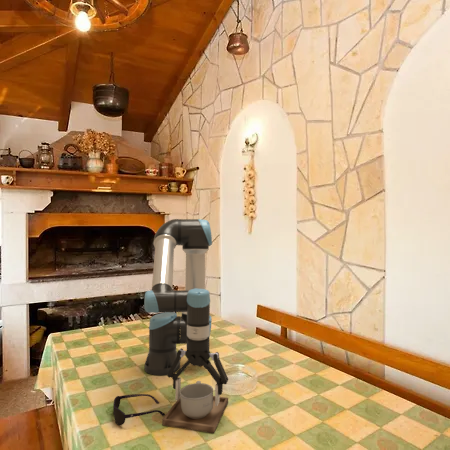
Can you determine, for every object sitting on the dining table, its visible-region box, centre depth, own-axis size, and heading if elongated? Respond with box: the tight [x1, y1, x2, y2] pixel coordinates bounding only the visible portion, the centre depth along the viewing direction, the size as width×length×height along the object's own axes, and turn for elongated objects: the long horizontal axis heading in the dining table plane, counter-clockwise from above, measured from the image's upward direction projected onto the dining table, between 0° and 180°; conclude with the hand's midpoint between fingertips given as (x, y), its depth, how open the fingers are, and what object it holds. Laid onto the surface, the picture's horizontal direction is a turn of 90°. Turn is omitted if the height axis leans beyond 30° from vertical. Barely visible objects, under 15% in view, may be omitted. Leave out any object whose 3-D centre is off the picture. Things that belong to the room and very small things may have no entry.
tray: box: [161, 395, 229, 434], centre depth 116 cm, size 17×19×2 cm
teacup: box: [180, 380, 214, 419], centre depth 116 cm, size 14×11×8 cm
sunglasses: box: [112, 393, 166, 426], centre depth 116 cm, size 14×16×5 cm
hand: (197, 401), depth 116 cm, fingers open, 13 cm apart
